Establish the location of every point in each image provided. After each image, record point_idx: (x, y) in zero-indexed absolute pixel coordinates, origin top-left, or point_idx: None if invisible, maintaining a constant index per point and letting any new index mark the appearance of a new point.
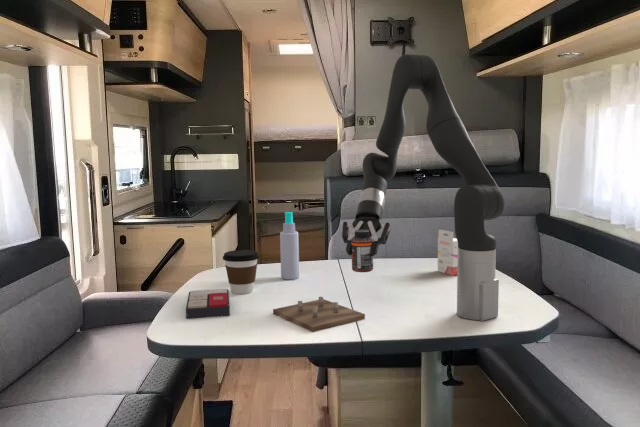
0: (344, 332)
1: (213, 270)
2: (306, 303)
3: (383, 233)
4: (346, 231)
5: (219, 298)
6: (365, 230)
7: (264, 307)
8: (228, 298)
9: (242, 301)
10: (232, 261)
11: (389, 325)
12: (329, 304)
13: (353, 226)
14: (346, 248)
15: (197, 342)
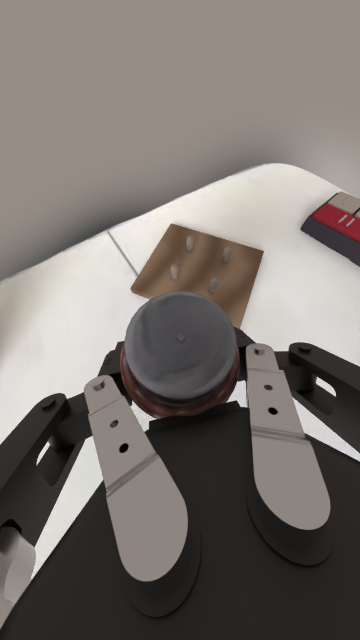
0: (136, 241)
1: None
2: (244, 293)
3: (24, 440)
4: (334, 376)
5: (342, 219)
6: (155, 352)
7: (296, 272)
8: (342, 234)
9: (352, 280)
10: None
11: (89, 284)
12: None
13: (356, 460)
14: (238, 330)
15: (251, 173)
